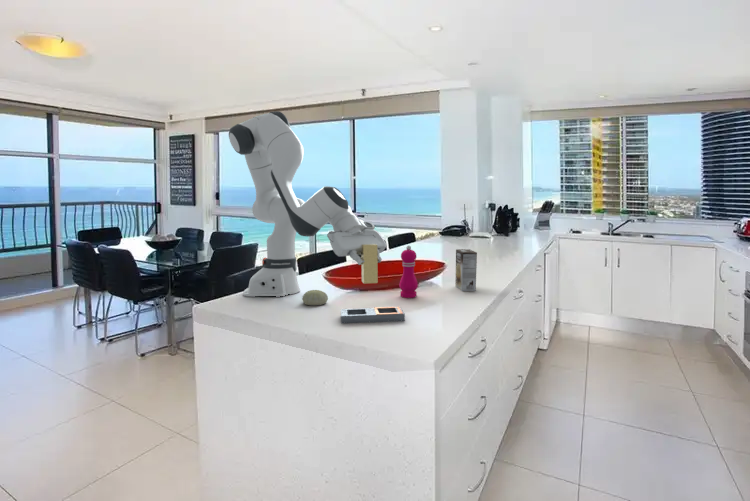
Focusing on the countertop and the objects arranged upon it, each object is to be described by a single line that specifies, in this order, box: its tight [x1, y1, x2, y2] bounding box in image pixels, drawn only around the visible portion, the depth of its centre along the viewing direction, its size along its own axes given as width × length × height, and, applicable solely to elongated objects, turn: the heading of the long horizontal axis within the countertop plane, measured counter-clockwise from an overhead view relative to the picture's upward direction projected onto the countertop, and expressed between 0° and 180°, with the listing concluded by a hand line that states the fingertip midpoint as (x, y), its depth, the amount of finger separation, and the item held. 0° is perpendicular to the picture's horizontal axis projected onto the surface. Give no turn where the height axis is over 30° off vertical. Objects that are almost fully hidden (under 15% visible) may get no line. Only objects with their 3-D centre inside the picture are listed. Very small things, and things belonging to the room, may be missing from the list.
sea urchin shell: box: [301, 289, 329, 306], centre depth 160 cm, size 9×8×8 cm
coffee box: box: [455, 248, 478, 292], centre depth 181 cm, size 9×6×16 cm
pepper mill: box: [398, 245, 419, 299], centre depth 169 cm, size 7×7×20 cm
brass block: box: [360, 244, 379, 285], centre depth 138 cm, size 4×4×12 cm
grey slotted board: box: [340, 306, 406, 324], centre depth 141 cm, size 20×8×3 cm, turn 96°
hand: (370, 262), depth 137 cm, fingers closed on brass block, 6 cm apart
